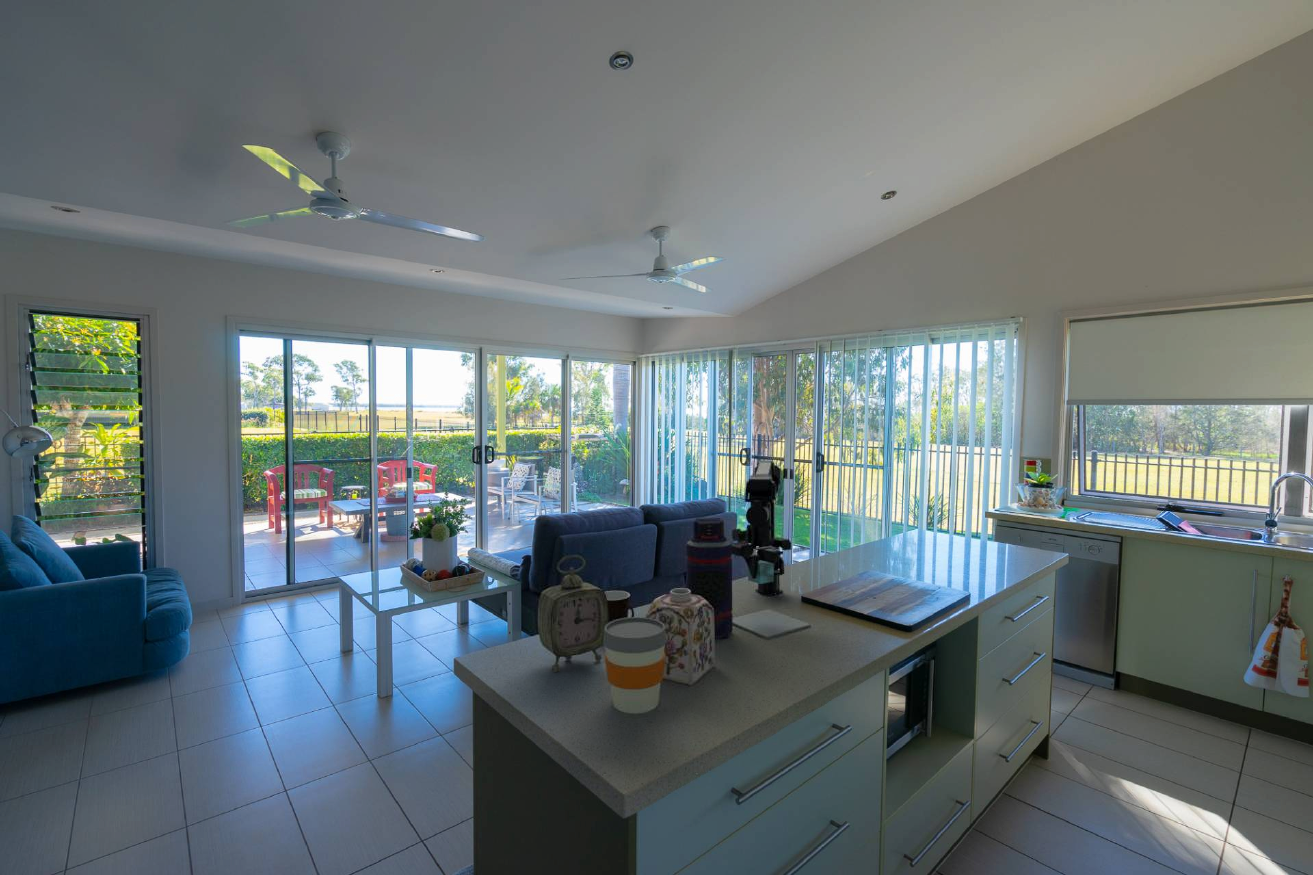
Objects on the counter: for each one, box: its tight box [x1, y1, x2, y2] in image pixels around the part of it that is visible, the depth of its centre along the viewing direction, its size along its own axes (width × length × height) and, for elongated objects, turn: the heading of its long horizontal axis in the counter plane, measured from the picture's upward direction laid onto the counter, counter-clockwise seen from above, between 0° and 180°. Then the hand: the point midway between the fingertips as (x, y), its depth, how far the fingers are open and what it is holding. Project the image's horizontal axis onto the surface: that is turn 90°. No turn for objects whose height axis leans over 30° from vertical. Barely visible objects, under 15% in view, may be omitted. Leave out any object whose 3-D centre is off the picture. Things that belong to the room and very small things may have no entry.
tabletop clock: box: [537, 554, 609, 673], centre depth 135 cm, size 14×9×25 cm, turn 123°
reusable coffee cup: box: [603, 616, 667, 714], centre depth 115 cm, size 13×13×15 cm
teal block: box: [747, 561, 774, 584], centre depth 164 cm, size 5×5×5 cm
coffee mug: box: [604, 590, 635, 623], centre depth 153 cm, size 12×9×10 cm
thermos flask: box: [685, 517, 734, 641], centre depth 153 cm, size 14×12×30 cm
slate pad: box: [732, 608, 811, 640], centre depth 160 cm, size 16×16×1 cm
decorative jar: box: [645, 587, 716, 686], centre depth 130 cm, size 12×12×18 cm
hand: (760, 577), depth 164 cm, fingers closed on teal block, 5 cm apart
